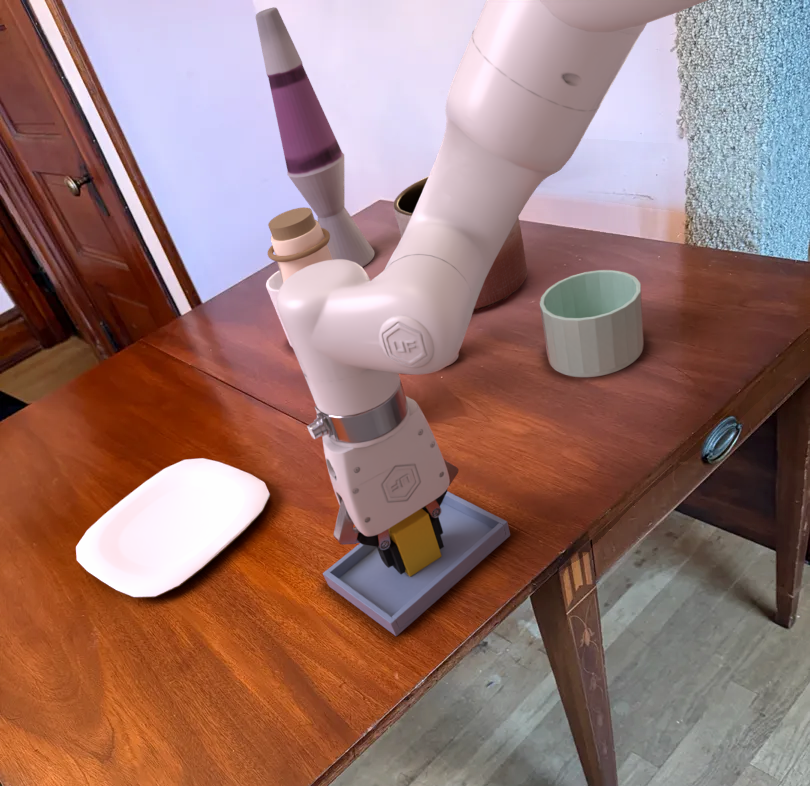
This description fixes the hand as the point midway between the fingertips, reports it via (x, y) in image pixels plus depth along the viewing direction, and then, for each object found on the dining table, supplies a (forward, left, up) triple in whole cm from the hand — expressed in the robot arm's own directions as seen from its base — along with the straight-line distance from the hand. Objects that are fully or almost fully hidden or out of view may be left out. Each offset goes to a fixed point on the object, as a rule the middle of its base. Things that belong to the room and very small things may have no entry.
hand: (414, 552), depth 77 cm
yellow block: (0, 0, -1) cm, 1 cm away
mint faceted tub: (-16, -37, -1) cm, 40 cm away
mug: (+28, -52, -1) cm, 59 cm away
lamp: (+31, -77, -1) cm, 83 cm away
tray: (0, 0, -1) cm, 1 cm away
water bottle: (+13, -24, -1) cm, 27 cm away
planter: (+4, -59, -1) cm, 59 cm away
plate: (+33, -6, -1) cm, 33 cm away
